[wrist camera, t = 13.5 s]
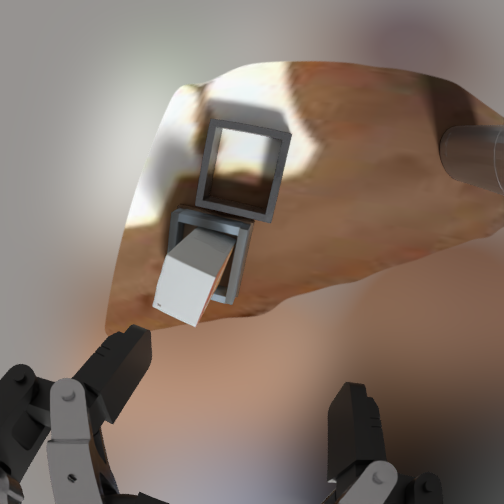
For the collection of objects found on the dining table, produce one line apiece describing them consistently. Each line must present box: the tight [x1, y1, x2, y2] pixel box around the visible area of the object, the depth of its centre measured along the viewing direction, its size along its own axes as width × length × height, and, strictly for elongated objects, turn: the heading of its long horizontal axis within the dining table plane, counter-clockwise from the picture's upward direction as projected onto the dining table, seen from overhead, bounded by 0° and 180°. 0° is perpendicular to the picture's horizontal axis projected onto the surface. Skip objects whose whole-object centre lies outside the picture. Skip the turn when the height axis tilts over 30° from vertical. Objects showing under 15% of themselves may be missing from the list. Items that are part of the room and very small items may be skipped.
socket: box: [195, 119, 292, 223], centre depth 37 cm, size 11×12×4 cm
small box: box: [153, 226, 237, 327], centre depth 37 cm, size 8×6×13 cm
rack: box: [167, 204, 254, 305], centre depth 42 cm, size 12×13×4 cm
